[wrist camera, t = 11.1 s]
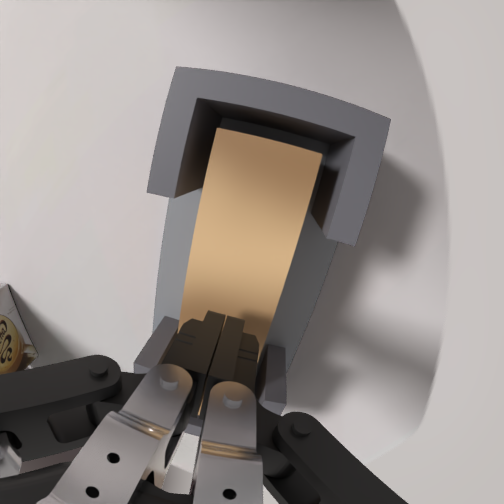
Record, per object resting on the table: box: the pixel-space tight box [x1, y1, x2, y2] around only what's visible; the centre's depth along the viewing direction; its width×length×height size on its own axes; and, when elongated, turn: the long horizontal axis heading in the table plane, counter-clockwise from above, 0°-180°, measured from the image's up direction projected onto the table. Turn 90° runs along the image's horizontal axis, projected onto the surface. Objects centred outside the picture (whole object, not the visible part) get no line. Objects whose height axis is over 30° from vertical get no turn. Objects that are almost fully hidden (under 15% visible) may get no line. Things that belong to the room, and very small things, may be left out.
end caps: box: [134, 66, 391, 436], centre depth 15 cm, size 21×10×6 cm, turn 166°
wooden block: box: [177, 128, 323, 415], centre depth 15 cm, size 15×4×5 cm, turn 166°
